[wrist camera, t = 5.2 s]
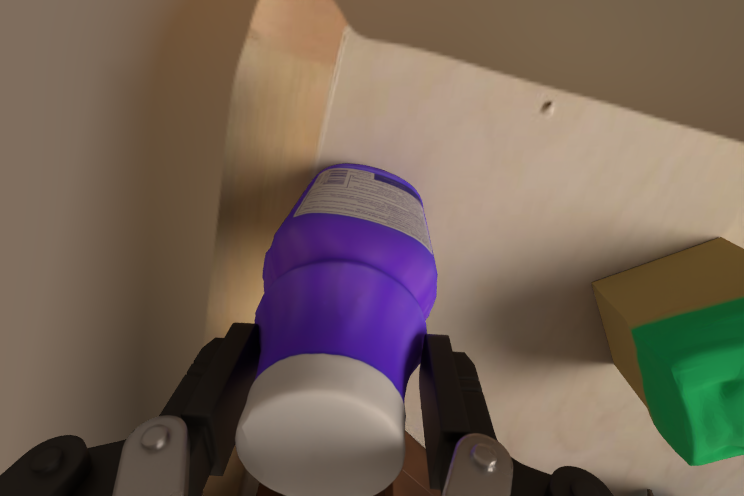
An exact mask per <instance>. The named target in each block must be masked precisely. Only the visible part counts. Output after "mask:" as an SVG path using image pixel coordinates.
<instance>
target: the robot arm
mask: <svg viewBox="0 0 744 496" xmlns="http://www.w3.org/2000/svg"><path fill="white" fill-rule="evenodd" d="M260 352H261V350H260V344H259V325H258V324H251V323H233V324H232V326H231V327H230V329H229V331H228V333H227V334H226V336H225V338H214V339H213V340H212V341H210V342H209V343H208V344H207V345H205V346H204V347H203V348H202V349H201V351H200V352H199V354H198V355H197V357H196V358H195V360H194V363H193V364H192V365H191V366H190V368H189V370H188V371H187V375H185V376H184V378H183V379H182V381H181V382H180V384H179V385H178V387H177V389H176V390H175V392H174V393H173V395H172V397H171V398H170V400H169V401H168V403H167V404H166V406H165V407H164V409H163V411H162V412H161V414H160V415H159V417H156V418H153V419H150V420H148V421H146V422H144V423H143V424H141V425H140V426H138V427H137V428H136V429H135V430H134V431H133V432H132V433H131V434H130V435H129V436H128V438H127V439H125V440H122V441H119V442H114V443H109V444H105V445H100V446H96V447H91V448H87V447H86V444H85V442H84V441H83V439H81V438H80V437H78V436H73V435H64V436H59V437H55V438H52V439H49V440H47V441H45V442H42V443H40V444H39V445H37V446H35V447H34V448H32V449H31V450H29V451H28V452H27V453H26V454H24V455H23V456H22V457H21V458H20V459H19V460H17V461H16V462H15V463H14V464H13V465H12V466H11V467H9V468H8V469H7V470H6V471H5V472H4V473H3V474H1V475H0V496H204V494H203V489H204V487H205V484H206V482H207V479H208V477H209V475H214V476H223V474H224V471H225V468H226V466H227V463H228V461H229V458H230V456H231V453H232V450H233V448H234V445H235V436H236V430H237V426H238V423H239V420H240V417H241V415H242V412H243V410H244V407H245V405H246V402H247V397H248V394H249V391H250V388H251V386H252V385H253V383H254V380H255V377H256V374H257V369H258V364H259V357H260ZM419 390H420V399H421V409H422V418H423V428H424V438H425V447H426V457H427V466H428V476H429V485H430V489H434V490H440V491H441V496H614V495H613V494H612V493H611V491H610V490H609V489H608V488H607V486H606V485H605V484H604V483H603V482H602V481H601V480H599V479H598V478H597V477H596V476H594V475H593V474H591V473H589V472H588V471H586V470H583V469H581V468H578V467H573V466H564V467H560V468H558V469H556V470H555V471H554V472H553V474H552V475H550V474H547V473H544V472H541V471H539V470H536V469H533V468H530V467H528V466H525V465H523V464H521V463H519V462H518V461H516V460H515V459H513V458H512V457H511V456H510V455H509V453H508V451H507V450H506V449H505V447H504V446H503V445H502V444H501V443H499V442H498V440H497V438H496V436H495V432H494V429H493V426H492V422H491V419H490V415H489V412H488V409H487V405H486V402H485V398H484V395H483V393H482V388H481V385H480V381H479V378H478V375H477V371H476V368H475V365H474V363H473V362H472V361H471V360H470V358H469V357H468V356H467V355H466V354H465V352H452V348H451V343H450V339H449V336H448V335H435V334H425V336H424V342H423V349H422V356H421V364H420V372H419Z"/></svg>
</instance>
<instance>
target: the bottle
mask: <svg viewBox="0 0 744 496" xmlns="http://www.w3.org/2000/svg"><path fill="white" fill-rule="evenodd" d="M263 280H264V295H263V297H262V299H261V302H260V304H259V306H258V308H257V310H256V313H255V315H256V317H255V324H258V325H259V344H260V350H261V352H260V357H259V364H258V369H257V374H256V377H255V380H254V383H253V385H252V386H251V388H250V391H249V394H248V397H247V402H246V405H245V407H244V410H243V412H242V415H241V417H240V420H239V423H238V426H237V430H236V436H235V444H236V450H237V453H238V457H239V459H240V460H241V462H242V463H243V465H244V466H245V468H246V470H247V471H248V472H249V473H250V474H251V475H252V476H253V477H254V478H256V479H257V480H258V481H259V482H261V483H262V484H263V485H265V486H267V487H268V488H270V489H272V490H274V491H276V492H278V493H281V494H283V495H286V496H373V495H376V494H378V493H379V492H381V491H383V490H384V489H385V488H387V487H388V486H389V485H390V484H391V483H392V482H393V481H394V480H395V479H396V477H397V476H398V475H399V473H400V471H401V469H402V467H403V464H404V458H405V419H406V414H405V406H404V398H405V393H406V387H407V383H408V380H409V378H410V376H411V374H412V373H413V371H414V370H415V369H416V368H417V367H418V365H419V364H420V363H421V356H422V349H423V342H424V336H425V334H427V329H426V322H425V321H426V319H427V318H428V316H429V314H430V311H431V309H432V307H433V304H434V302H435V299H436V289H437V270H436V264H435V260H434V255H433V251H432V247H431V242H430V237H429V232H428V228H427V223H426V218H425V214H424V210H423V203H422V200H421V198H420V195H419V194H418V192H417V191H416V190H415V188H414V187H413V186H412V185H410V184H409V183H408V182H406V181H405V180H403V179H401V178H400V177H398V176H396V175H394V174H391V173H389V172H387V171H384V170H381V169H378V168H374V167H370V166H366V165H360V164H347V163H345V164H336V165H332V166H329V167H327V168H325V169H323V170H322V171H321V172H319V173H318V174H317V175H316V176H315V177H314V178H313V180H312V181H311V182H310V184H309V185H308V187H307V188H306V190H305V191H304V193H303V194H302V196H301V197H300V199H299V200H298V202H297V203H296V205H295V206H294V207H293V209H292V210H291V212H290V214H289V215H288V216H287V218H286V219H285V220H284V222H283V223H282V225H281V227H280V228H279V229H278V231H277V232H276V234H275V235H274V239H273V242H272V245H271V247H270V249H269V250H268V251H267V252H266V255H265V260H264V267H263Z"/></svg>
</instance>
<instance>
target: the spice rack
mask: <svg viewBox="0 0 744 496" xmlns="http://www.w3.org/2000/svg"><path fill="white" fill-rule="evenodd" d="M256 496H286V495H283V494H281V493H278V492H276V491H274V490H272V489H270V488H268V487H267V486H265V485H263V484H262V483H261V482H260V484H259V487H258V491H257V494H256ZM373 496H441V491H440V490H434V489H430V485H429V476H428V466H427V457H426V449H425V448H424V447H423V446H422V445H421V444H420V443H418V442H417V441H416V440H415V439H414V438H413V437H412V436H411V435H410V434H408V433H407V432H406V431H405V458H404V464H403V467H402V469H401V471H400V473H399V475H398V476H397V477H396V479H395V480H394V481H393V482H392V483H391V484H390V485H389V486H388V487H387V488H385V489H384V490H383V491H381V492H379V493H378V494H376V495H373Z"/></svg>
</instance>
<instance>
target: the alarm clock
mask: <svg viewBox="0 0 744 496" xmlns="http://www.w3.org/2000/svg"><path fill="white" fill-rule="evenodd" d="M647 496H653V493H652V490H650V489H647Z"/></svg>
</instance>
